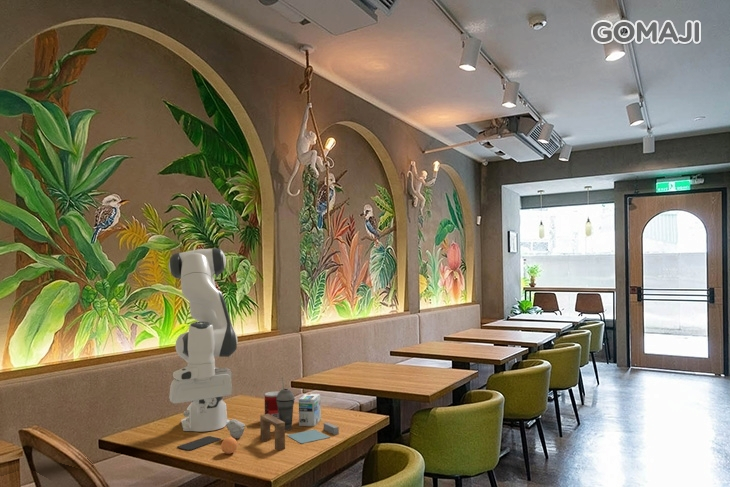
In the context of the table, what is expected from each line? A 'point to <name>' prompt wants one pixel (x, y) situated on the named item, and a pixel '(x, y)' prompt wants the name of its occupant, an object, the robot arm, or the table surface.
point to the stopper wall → (331, 428)
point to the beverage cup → (285, 406)
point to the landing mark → (308, 436)
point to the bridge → (279, 430)
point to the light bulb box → (309, 409)
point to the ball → (229, 445)
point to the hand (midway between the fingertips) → (201, 412)
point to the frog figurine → (235, 428)
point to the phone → (198, 443)
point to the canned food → (271, 404)
